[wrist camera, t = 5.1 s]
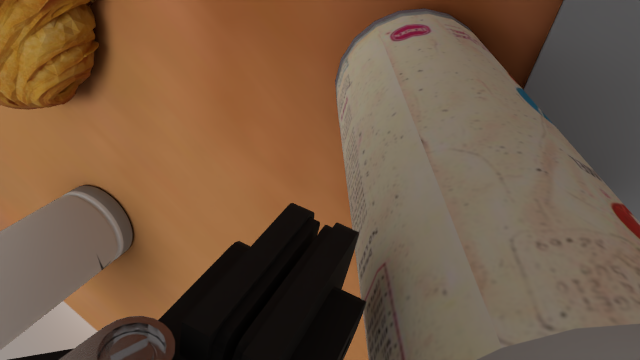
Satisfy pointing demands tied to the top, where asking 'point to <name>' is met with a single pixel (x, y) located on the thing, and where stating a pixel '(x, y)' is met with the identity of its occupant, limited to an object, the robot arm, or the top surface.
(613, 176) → the mat
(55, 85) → the croissant
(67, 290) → the travel mug
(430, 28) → the aerosol can
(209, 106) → the top surface
